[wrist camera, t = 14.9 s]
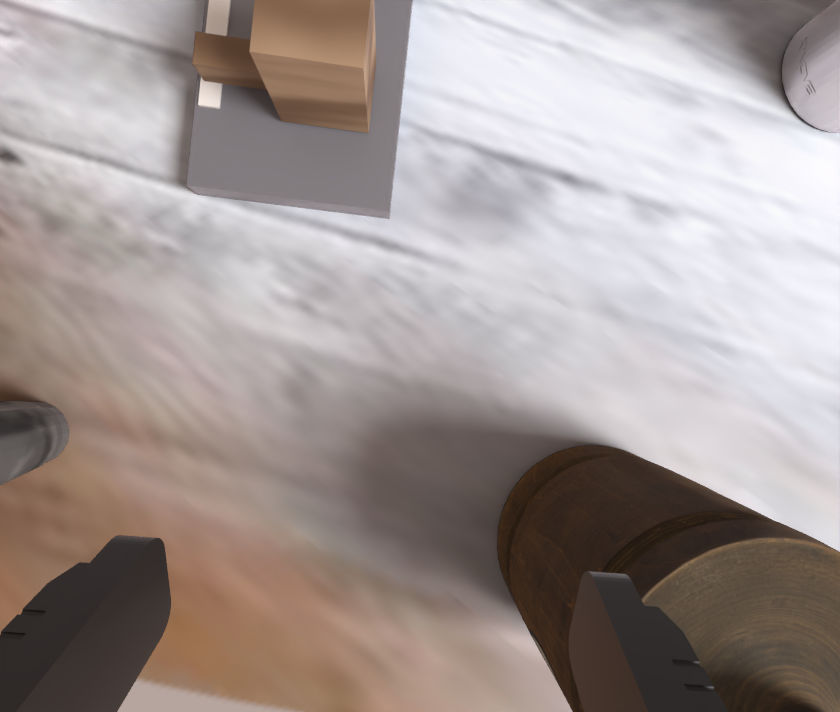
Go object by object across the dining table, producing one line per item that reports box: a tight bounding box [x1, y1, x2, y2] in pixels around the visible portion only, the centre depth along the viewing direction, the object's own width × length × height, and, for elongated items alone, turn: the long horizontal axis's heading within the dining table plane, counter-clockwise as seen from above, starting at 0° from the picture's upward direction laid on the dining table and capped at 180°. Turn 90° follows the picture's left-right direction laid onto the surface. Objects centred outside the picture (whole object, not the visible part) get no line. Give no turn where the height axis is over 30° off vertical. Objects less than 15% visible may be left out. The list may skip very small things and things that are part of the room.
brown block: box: [192, 0, 376, 133], centre depth 30 cm, size 5×11×8 cm, turn 84°
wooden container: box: [497, 446, 840, 712], centre depth 27 cm, size 15×15×22 cm
